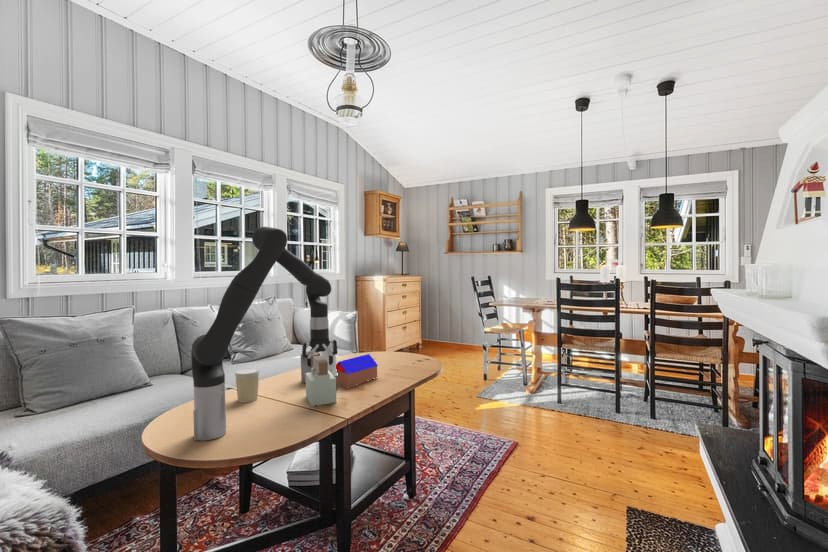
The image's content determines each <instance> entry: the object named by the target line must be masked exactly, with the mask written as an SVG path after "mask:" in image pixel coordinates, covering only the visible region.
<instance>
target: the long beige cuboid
mask: <svg viewBox="0 0 828 552" xmlns="http://www.w3.org/2000/svg"><path fill="white" fill-rule="evenodd" d="M313 368H314V369H315V371H316V372H317V373H318V375H319V376H320V375H328V370H329V361H327V360H326V359H325V358H324V357H323V356H322V355H321V356H313Z"/></svg>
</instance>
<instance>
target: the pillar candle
mask: <svg viewBox="0 0 828 552" xmlns="http://www.w3.org/2000/svg"><path fill="white" fill-rule="evenodd" d="M308 353H309V351H306V354H308ZM299 354H300V375H301V379H300V380H301V383H302V384H306V373H311V368H313V356H320V353H319V352H314V354H313V355H312V356H311V357H310V358H311V367H309V366H307V358H305V357H303V356H302V352H301V353H299Z"/></svg>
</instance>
